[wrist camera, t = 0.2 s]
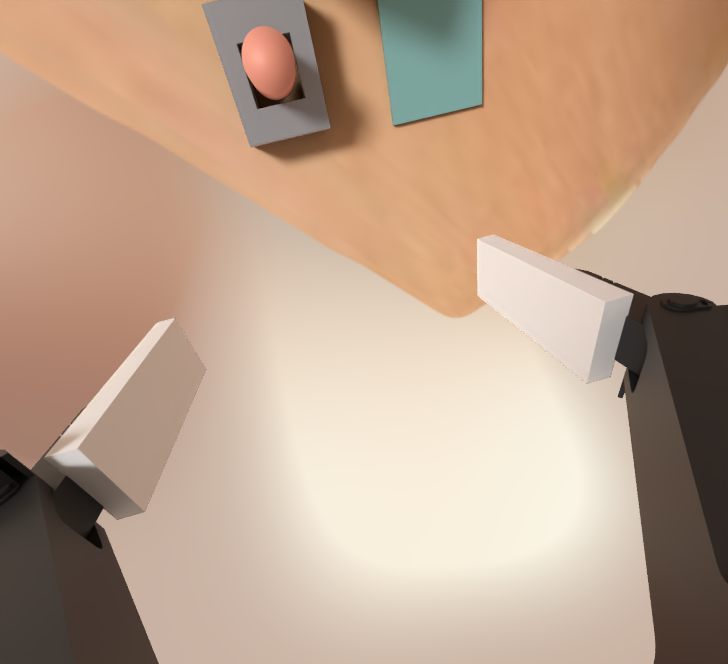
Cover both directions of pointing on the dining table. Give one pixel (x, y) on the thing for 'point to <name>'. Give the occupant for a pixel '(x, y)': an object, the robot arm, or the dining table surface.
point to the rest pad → (431, 56)
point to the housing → (265, 125)
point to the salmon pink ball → (269, 62)
